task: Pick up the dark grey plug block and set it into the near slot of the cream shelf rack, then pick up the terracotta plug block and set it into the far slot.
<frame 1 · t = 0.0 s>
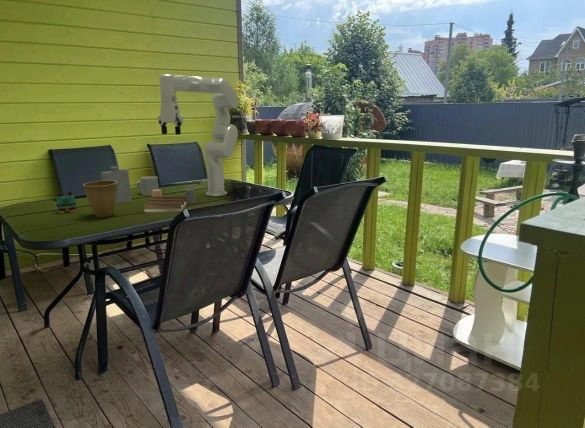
hand: (171, 134, 225), 37 cm above the table, tool pointing down, fingers open, 9 cm apart
binoculars: (67, 211, 221), on the table
cream shelf rack: (166, 207, 226), on the table
terracotta plug block: (157, 202, 240), on the table
plant pot: (103, 215, 211), on the table
coffee mug: (148, 194, 265), on the table
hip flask: (117, 203, 240), on the table
grey plug block: (190, 202, 241), on the table
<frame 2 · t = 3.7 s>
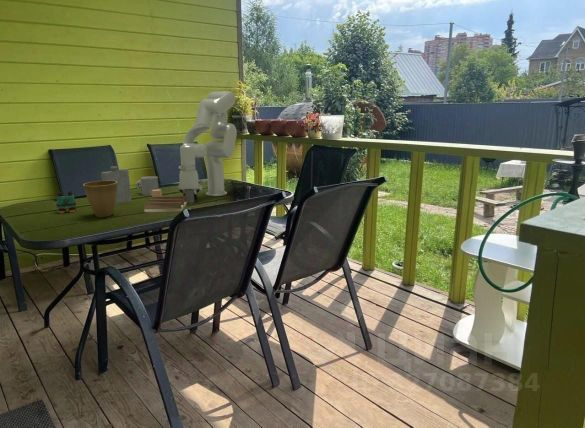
hand: (190, 200, 240), 1 cm above the table, tool pointing down, fingers closed on grey plug block, 4 cm apart
grey plug block: (190, 202, 241), on the table, touching gripper
everything else where it was.
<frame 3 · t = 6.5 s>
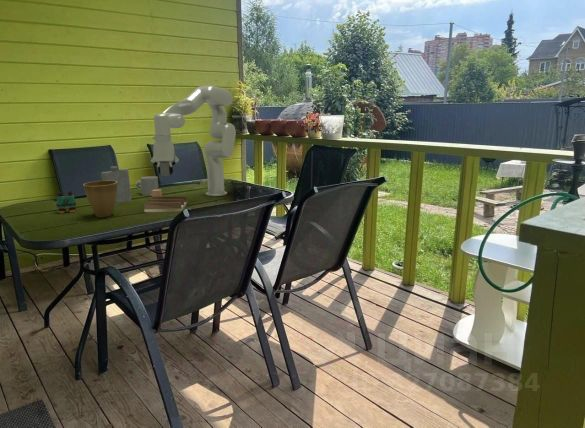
hand: (165, 174, 226), 17 cm above the table, tool pointing down, fingers closed on grey plug block, 4 cm apart
grey plug block: (165, 175, 226), point 16 cm above the table, touching gripper
everything else where it was.
when the fingers open (3 cm above the table, at t = 9.4 s): grey plug block stays where it is, resting on cream shelf rack.
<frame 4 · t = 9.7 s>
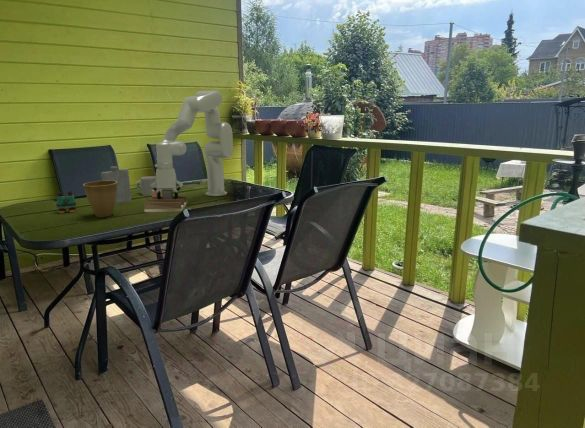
hand: (167, 199, 229), 4 cm above the table, tool pointing down, fingers open, 8 cm apart
grey plug block: (168, 203, 230), point 1 cm above the table, touching cream shelf rack
everything else where it was.
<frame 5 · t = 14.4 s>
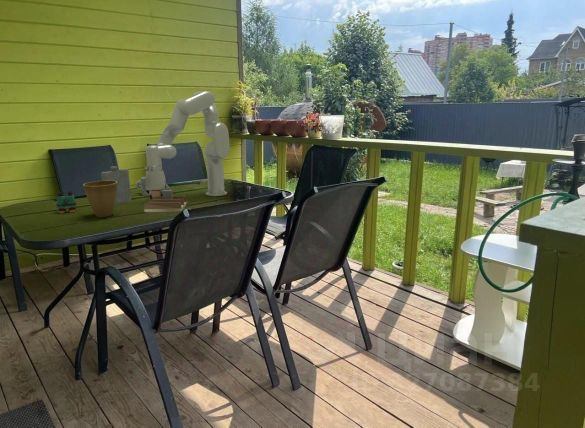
hand: (157, 201, 239), 1 cm above the table, tool pointing down, fingers closed on terracotta plug block, 4 cm apart
terracotta plug block: (157, 202, 240), on the table, touching gripper
everything else where it was.
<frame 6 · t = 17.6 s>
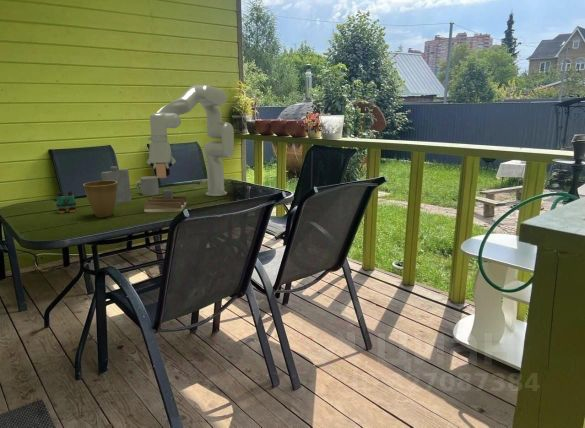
hand: (162, 175, 219), 17 cm above the table, tool pointing down, fingers closed on terracotta plug block, 4 cm apart
terracotta plug block: (162, 177, 219), point 17 cm above the table, touching gripper
everything else where it was.
when the fingers open (3 cm above the table, at t = 20.6 s): terracotta plug block stays where it is, resting on cream shelf rack.
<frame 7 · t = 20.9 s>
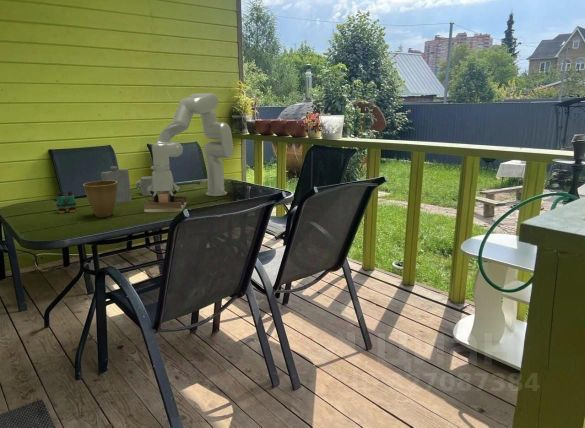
hand: (164, 203, 222), 3 cm above the table, tool pointing down, fingers open, 7 cm apart
terracotta plug block: (164, 206, 222), point 1 cm above the table, touching cream shelf rack
everything else where it was.
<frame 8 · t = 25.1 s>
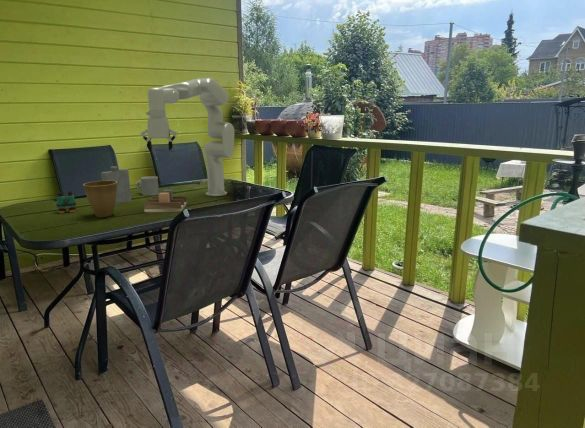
hand: (160, 149, 215), 30 cm above the table, tool pointing down, fingers open, 9 cm apart
nothing on the table moved.
at the end: grey plug block 0.1 cm from the target spot on the cream shelf rack, point 1.5 cm above the cream shelf rack's base; terracotta plug block 0.0 cm from the target spot on the cream shelf rack, point 1.5 cm above the cream shelf rack's base; terracotta plug block tilted 0° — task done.
